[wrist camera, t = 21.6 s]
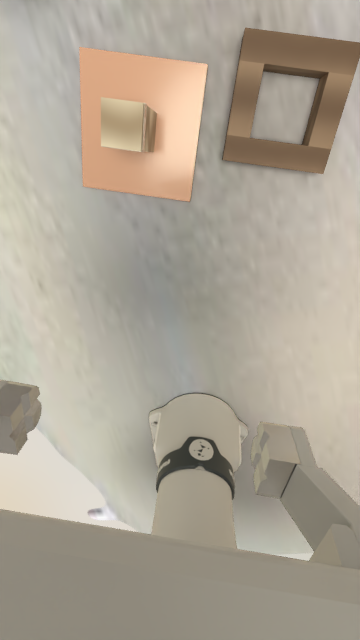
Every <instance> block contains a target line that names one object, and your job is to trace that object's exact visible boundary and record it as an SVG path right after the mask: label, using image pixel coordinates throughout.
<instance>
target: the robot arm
mask: <svg viewBox="0 0 360 640" xmlns="http://www.w3.org/2000/svg"><path fill="white" fill-rule="evenodd" d="M39 395H40V392H39V387H37V386H34V385H29V384H23V383H18V382H13V381H6V380H0V452H1V453H8V454H16V455H17V454H18V453H19V451H20V450H21V448H22V446H23V445H24V444H25V442H26V441H27V433H28V432H30V431H32V430H33V429H34V428H35V427H36V425H37V424H38V421H39V419H40V416H41V409H42V408H41V403H40V402H39V401H38V399H37V398H38V396H39ZM156 421H157V422H156ZM149 422H150V429H151V435H152V441H153V447H154V449H153V451H154V453H155V460H156V465H157V467H158V468H159V470H158V472H157V479H156V483H157V484H156V490H157V493H158V495H157V501H156V507H155V513H154V519H153V526H152V532H151V534H145V533H139V532H133V531H127V530H121V529H115V528H109V527H103V526H98V525H91V524H86V523H80V522H74V521H67V520H62V519H56V518H50V517H44V516H39V515H33V514H27V513H21V512H15V511H9V510H3V509H0V640H360V506H359V505H358V504H357V503H356V502H355V501H354V500H353V499H352V498H351V497H350V496H349V495H348V494H347V493H346V492H345V491H344V490H343V489H342V488H341V487H340V486H339V485H338V484H337V483H336V482H335V481H334V480H333V479H332V478H331V477H330V476H329V475H328V474H327V473H326V472H325V471H324V470H323V469H322V468H318V467H317V464H316V462H315V459H314V456H313V453H312V450H311V447H310V444H309V441H308V438H307V435H306V432H305V430H304V429H303V428H301V427H294V426H287V425H280V424H274V423H267V422H260V423H259V425H258V427H257V433H258V435H257V436H256V437H254V439H253V443H252V448H251V462H252V465H253V467H254V468H255V469H256V470H255V473H254V476H253V478H254V485H255V493H256V494H258V495H263V496H268V497H273V498H278V499H280V501H281V502H282V504H283V505H284V507H285V508H286V510H287V511H288V513H289V514H290V516H291V517H292V519H293V520H294V522H295V523H296V525H297V526H298V528H299V529H300V531H301V532H302V534H303V535H304V537H305V538H306V540H307V542H308V543H309V545H310V546H311V548H312V549H313V551H314V554H313V555H312V557H311V558H310V560H309V561H305V560H299V559H293V558H288V557H282V556H276V555H270V554H264V553H258V552H252V551H246V550H240V549H237V544H236V537H235V529H234V518H233V505H232V500H233V498H234V488H235V480H234V472H235V471H237V470H238V468H239V465H241V444H242V442H243V441H244V439H245V438H246V436H247V434H248V427H247V426H246V425H245V424H244V423H242V422H241V421H240V420H238V418H237V417H236V415H235V413H234V412H233V410H232V409H231V408H230V406H229V405H227V404H226V403H225V402H223V401H222V400H220V399H218V398H216V397H213V396H210V395H206V394H187V395H183V396H180V397H177V398H175V399H173V400H172V401H170V402H169V403H168V404H167V405H165V406H164V407H162V408H159V409H156V410H153V411H151V412H150V414H149Z"/></svg>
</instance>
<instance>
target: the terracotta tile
mask: <svg viewBox="0 0 360 640" xmlns="http://www.w3.org/2000/svg"><path fill="white" fill-rule="evenodd" d="M79 48H80V89H81V130H82V170H83V186H84V187H91V188H98V189H105V190H112V191H119V192H125V193H132V194H139V195H146V196H153V197H160V198H167V199H174V200H181V201H188V202H190V199H191V192H192V184H193V176H194V169H195V161H196V153H197V146H198V138H199V130H200V123H201V115H202V107H203V100H204V92H205V85H206V77H207V69H208V64H202V63H194V62H187V61H179V60H172V59H164V58H157V57H150V56H142V55H135V54H127V53H120V52H112V51H105V50H97V49H90V48H82V47H79ZM101 97H104V98H112V99H119V100H127V101H134V102H141V103H146V104H147V106H148V107H150V108H151V109H152V110H154V111H155V112H156V113H157V119H156V133H155V147H154V152H137V151H129V150H122V149H115V148H108V147H102V146H101Z"/></svg>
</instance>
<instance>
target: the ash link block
mask: <svg viewBox="0 0 360 640" xmlns="http://www.w3.org/2000/svg"><path fill="white" fill-rule="evenodd" d="M156 119H157V113H156V112H155V111H154V110H152V109H151V108H150V107H148V106H147V104H146V103H141V102H134V101H127V100H119V99H112V98H104V97H101V146H102V147H108V148H115V149H122V150H129V151H137V152H154V147H155V133H156Z"/></svg>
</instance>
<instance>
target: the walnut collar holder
mask: <svg viewBox="0 0 360 640" xmlns="http://www.w3.org/2000/svg"><path fill="white" fill-rule="evenodd" d="M359 58H360V43H358V42H351V41H343V40H335V39H328V38H320V37H312V36H305V35H297V34H289V33H282V32H274V31H267V30H259V29H251V28H245V31H244V35H243V39H242V45H241V51H240V57H239V63H238V69H237V75H236V81H235V87H234V93H233V99H232V105H231V110H230V116H229V122H228V128H227V134H226V140H225V146H224V152H223V158H222V160H227V161H234V162H241V163H248V164H255V165H263V166H270V167H277V168H284V169H291V170H298V171H305V172H312V173H320V174H323V173H324V170H325V167H326V164H327V160H328V157H329V154H330V151H331V147H332V144H333V141H334V138H335V135H336V131H337V128H338V125H339V122H340V119H341V115H342V112H343V109H344V106H345V103H346V99H347V96H348V93H349V90H350V87H351V83H352V80H353V77H354V74H355V70H356V67H357V64H358V61H359ZM263 71H266V72H274V73H281V74H289V75H296V76H304V77H311V78H319V79H320V80H319V84H318V87H317V91H316V95H315V98H314V102H313V106H312V109H311V113H310V117H309V121H308V124H307V128H306V132H305V135H304V139H303V143H302V145H297V144H290V143H283V142H276V141H269V140H261V139H254V138H250V134H251V129H252V124H253V119H254V114H255V109H256V104H257V99H258V94H259V89H260V84H261V79H262V73H263Z"/></svg>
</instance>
